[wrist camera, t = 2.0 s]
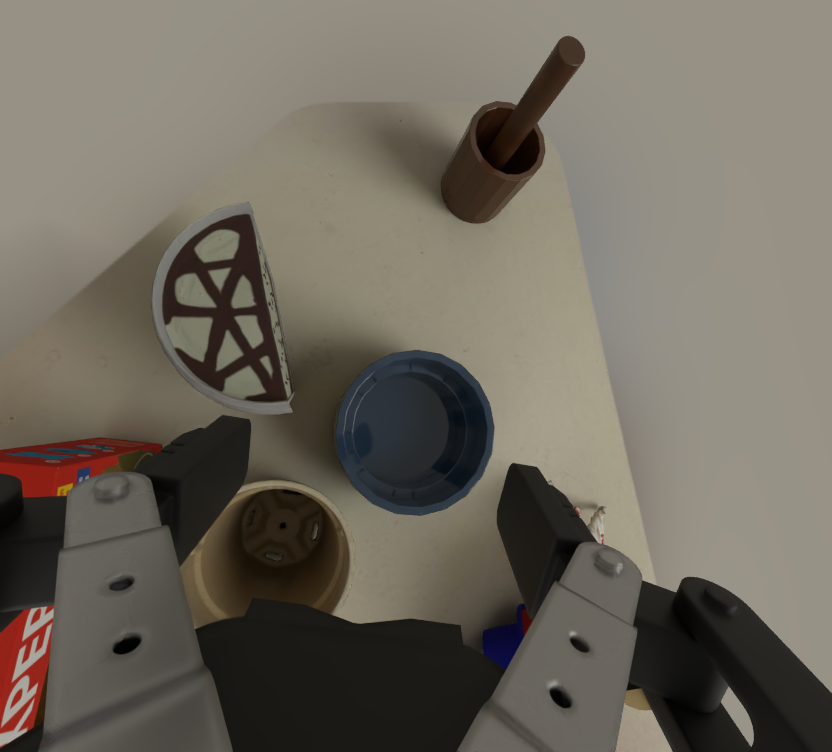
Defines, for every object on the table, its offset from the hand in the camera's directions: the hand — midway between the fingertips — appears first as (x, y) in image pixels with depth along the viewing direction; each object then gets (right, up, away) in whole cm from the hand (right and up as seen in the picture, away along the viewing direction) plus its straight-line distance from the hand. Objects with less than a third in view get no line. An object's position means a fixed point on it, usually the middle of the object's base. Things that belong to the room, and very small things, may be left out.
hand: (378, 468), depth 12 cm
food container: (-12, +5, +18) cm, 23 cm away
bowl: (0, -2, +21) cm, 21 cm away
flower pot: (-9, -8, +18) cm, 22 cm away
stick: (+7, +20, +24) cm, 32 cm away
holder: (+6, +20, +24) cm, 32 cm away
